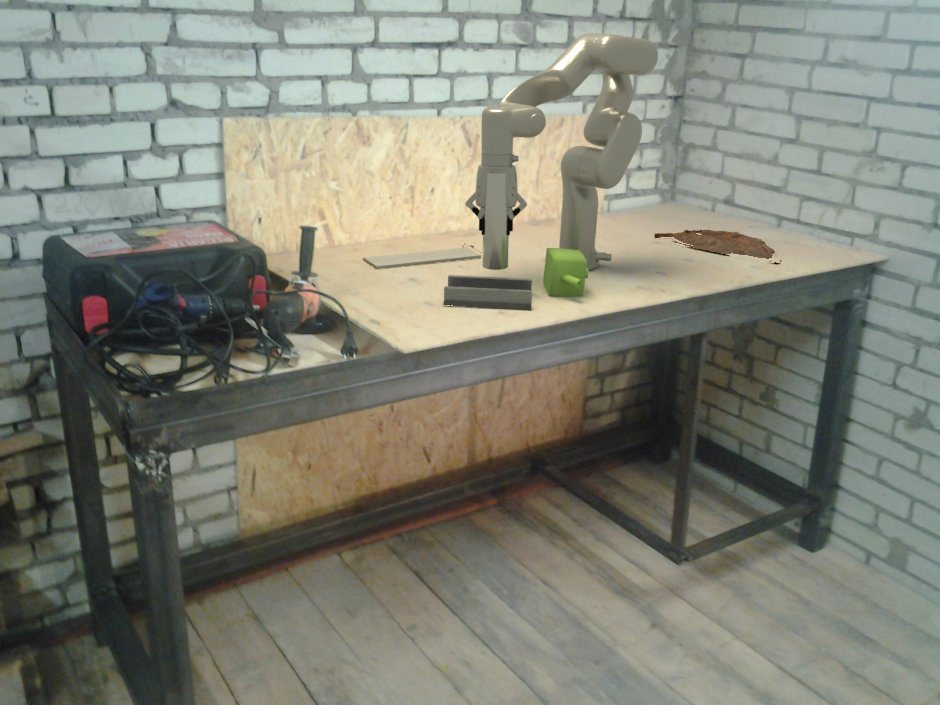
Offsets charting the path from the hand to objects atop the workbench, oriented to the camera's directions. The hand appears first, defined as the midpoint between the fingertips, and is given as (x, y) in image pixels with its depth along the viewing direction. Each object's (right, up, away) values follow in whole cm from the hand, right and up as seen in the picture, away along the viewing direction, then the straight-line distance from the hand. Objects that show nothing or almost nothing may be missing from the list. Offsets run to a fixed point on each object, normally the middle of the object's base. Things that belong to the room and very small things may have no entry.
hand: (495, 233), depth 217 cm
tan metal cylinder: (0, -8, +3) cm, 9 cm away
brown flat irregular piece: (+73, +1, +46) cm, 86 cm away
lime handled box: (+17, -15, -3) cm, 23 cm away
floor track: (-2, -17, -11) cm, 20 cm away
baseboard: (-20, -4, +23) cm, 31 cm away
